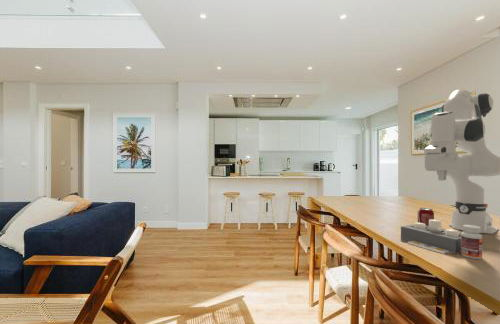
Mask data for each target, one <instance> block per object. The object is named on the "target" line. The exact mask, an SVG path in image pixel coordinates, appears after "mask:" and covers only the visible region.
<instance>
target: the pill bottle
mask: <svg viewBox="0 0 500 324" xmlns="http://www.w3.org/2000/svg"><path fill="white" fill-rule="evenodd" d="M463 230H464V231H463ZM463 230H462V232H460V233H461V253H460V254H461V255H462V256H463V257H465V258H468V259H472V260H473V259H474V260H481V259H483V235H482V233H480V232H481V228H480V227H478V226H474V225H463Z"/></svg>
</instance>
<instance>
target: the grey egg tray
mask: <svg viewBox="0 0 500 324" xmlns="http://www.w3.org/2000/svg"><path fill="white" fill-rule="evenodd" d="M461 233H462V232H459V237H453V236H449V235H445V228H441V233H436V232H432V231H429V226H427V225H425V229H419V228H415V227H414V223H413V224H407V225H401V226H400V239H402V240H406V241H408V242H410V241H416V242H420V243H423V244H427V245H430V246H434V247H437V248H441V249H444V250H448V251H449V253H450V254H454V255H456V254H461Z"/></svg>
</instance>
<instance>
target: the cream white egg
mask: <svg viewBox="0 0 500 324" xmlns="http://www.w3.org/2000/svg"><path fill="white" fill-rule="evenodd" d="M441 229H442V220H440V219H439V220H438V219H434V220H433V219H430V220H429V231H432V232H436V233H441Z"/></svg>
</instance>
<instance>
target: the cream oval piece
mask: <svg viewBox="0 0 500 324" xmlns="http://www.w3.org/2000/svg"><path fill="white" fill-rule="evenodd" d="M413 224H414V227H415V228H419V229H425V224H424V223H418V221H417V222H413Z"/></svg>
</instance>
